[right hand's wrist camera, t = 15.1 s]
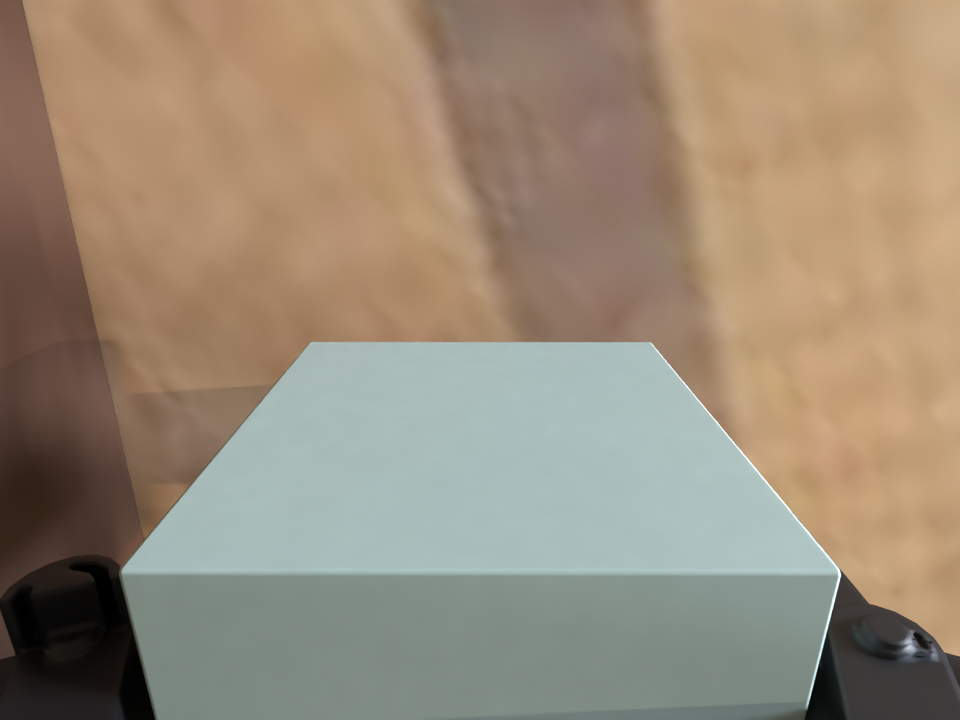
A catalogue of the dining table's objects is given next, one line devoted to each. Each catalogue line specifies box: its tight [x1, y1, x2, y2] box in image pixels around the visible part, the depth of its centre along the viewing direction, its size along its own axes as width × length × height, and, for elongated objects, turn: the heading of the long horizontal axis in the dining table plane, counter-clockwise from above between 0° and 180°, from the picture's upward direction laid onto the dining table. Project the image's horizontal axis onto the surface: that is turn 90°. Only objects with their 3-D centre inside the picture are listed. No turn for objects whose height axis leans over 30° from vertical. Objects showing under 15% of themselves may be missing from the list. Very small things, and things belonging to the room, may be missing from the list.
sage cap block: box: [119, 342, 841, 720], centre depth 10 cm, size 6×7×7 cm
